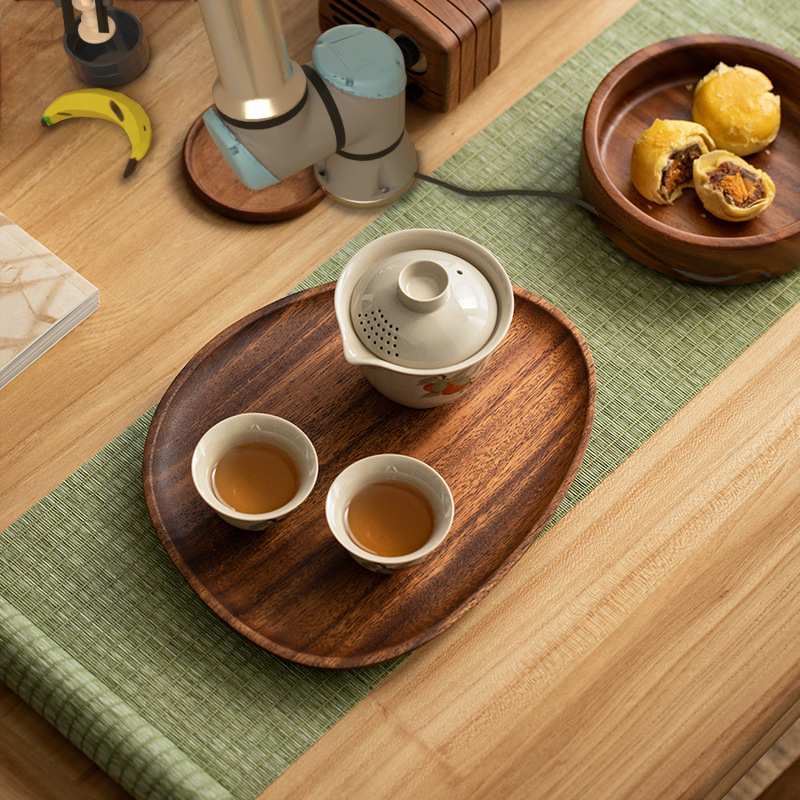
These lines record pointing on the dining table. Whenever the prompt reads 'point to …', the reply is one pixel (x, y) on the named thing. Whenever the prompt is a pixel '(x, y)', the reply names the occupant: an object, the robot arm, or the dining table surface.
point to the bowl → (110, 52)
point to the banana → (105, 116)
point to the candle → (91, 22)
